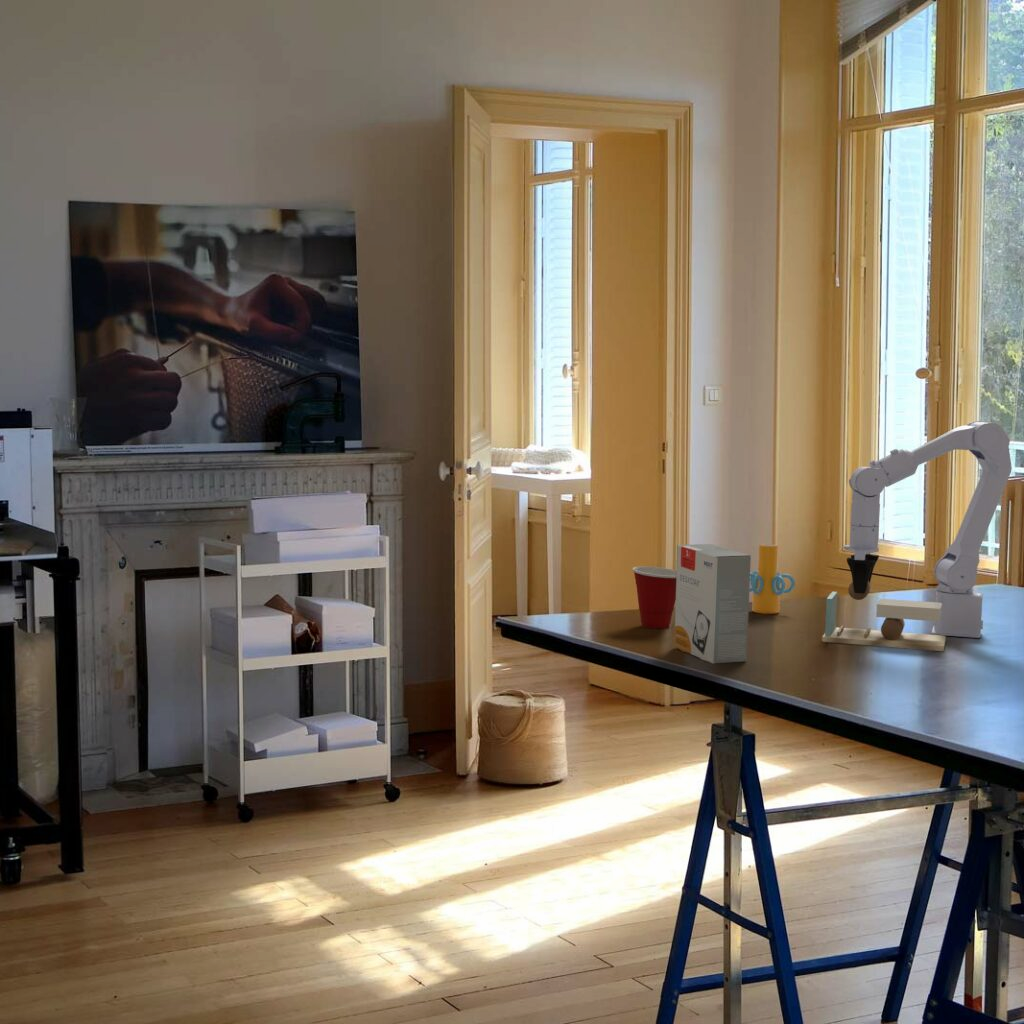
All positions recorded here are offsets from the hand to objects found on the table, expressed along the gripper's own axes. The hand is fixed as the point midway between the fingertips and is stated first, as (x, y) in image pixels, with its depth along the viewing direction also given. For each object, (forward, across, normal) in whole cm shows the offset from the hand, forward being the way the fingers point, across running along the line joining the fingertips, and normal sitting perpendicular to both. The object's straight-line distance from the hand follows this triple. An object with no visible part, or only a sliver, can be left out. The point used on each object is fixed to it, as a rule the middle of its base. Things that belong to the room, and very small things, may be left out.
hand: (861, 591), depth 292 cm
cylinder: (+9, -16, -22) cm, 28 cm away
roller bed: (+8, +9, +6) cm, 14 cm away
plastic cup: (+9, +13, -40) cm, 43 cm away
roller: (+1, 0, 0) cm, 1 cm away
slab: (+3, +9, +10) cm, 14 cm away
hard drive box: (+9, +38, -23) cm, 46 cm away
